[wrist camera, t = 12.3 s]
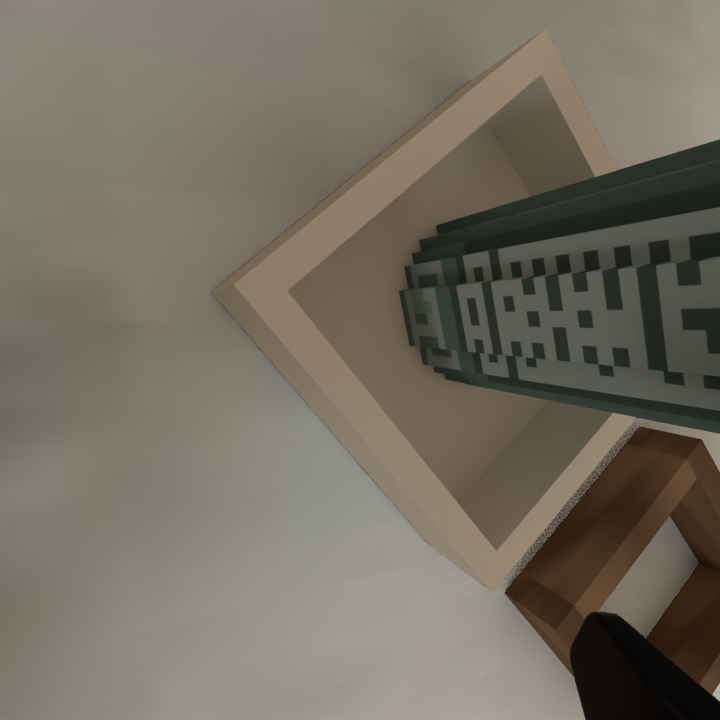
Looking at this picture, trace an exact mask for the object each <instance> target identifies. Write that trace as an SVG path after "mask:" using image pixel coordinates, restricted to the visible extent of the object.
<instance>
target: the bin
mask: <svg viewBox="0 0 720 720" xmlns="http://www.w3.org/2000/svg"><path fill="white" fill-rule="evenodd" d="M614 171H617V169H616V167H615V165H614V163H613V161H612V159H611V157H610V155H609V153H608V151H607V149H606V147H605V145H604V143H603V141H602V139H601V137H600V135H599V133H598V131H597V129H596V127H595V125H594V123H593V121H592V119H591V117H590V115H589V113H588V111H587V109H586V107H585V106H584V104H583V102H582V100H581V98H580V96H579V94H578V92H577V90H576V88H575V86H574V84H573V82H572V80H571V78H570V76H569V74H568V72H567V70H566V68H565V66H564V64H563V62H562V60H561V58H560V56H559V54H558V52H557V50H556V48H555V46H554V44H553V42H552V40H551V38H550V36H549V34H548V32H547V30H546V29H545V30H543V31H542V32H540V33H539V34H537V35H536V36H534V37H533V38H532V39H530V40H529V41H527V42H526V43H524V44H523V45H521V46H520V47H519V48H517V49H516V50H514V51H513V52H511V53H510V54H509V55H507V56H506V57H504V58H503V59H501V60H500V61H498V62H497V63H496V64H494V65H493V66H491V67H490V68H488V69H487V70H485V71H484V72H483V73H481V74H480V75H478V76H477V77H475V78H474V79H472V80H471V81H470V82H469V83H467V84H466V85H465V86H464V87H462V88H461V89H460V90H459V91H458V92H456V93H455V94H454V95H453V96H451V97H450V98H449V99H448V100H446V101H445V102H444V103H443V104H442V105H440V106H439V107H438V108H437V109H435V110H434V111H433V112H432V113H431V114H429V115H428V116H427V117H426V118H424V119H423V120H422V121H421V122H419V123H418V124H417V125H416V126H415V127H413V128H412V129H411V130H410V131H408V132H407V133H406V134H405V135H403V136H402V137H401V138H400V139H399V140H397V141H396V142H395V143H394V144H392V145H391V146H390V147H389V148H388V149H386V150H385V151H384V152H383V153H381V154H380V155H379V156H378V157H376V158H375V159H374V160H373V161H372V162H370V163H369V164H368V165H367V166H365V167H364V168H363V169H362V170H360V171H359V172H358V173H357V174H356V175H354V176H353V177H352V178H351V179H349V180H348V181H347V182H346V183H345V184H343V185H342V186H341V187H340V188H338V189H337V190H336V191H335V192H333V193H332V194H331V195H330V196H329V197H327V198H326V199H325V200H324V201H322V202H321V203H320V204H319V205H317V206H316V207H315V208H314V209H313V210H311V211H310V212H309V213H308V214H306V215H305V216H304V217H303V218H302V219H300V220H299V221H298V222H297V223H295V224H294V225H293V226H292V227H290V228H289V229H288V230H287V231H286V232H284V233H283V234H282V235H281V236H279V237H278V238H277V239H276V240H274V241H273V242H272V243H271V244H270V245H268V246H267V247H266V248H265V249H263V250H262V251H261V252H260V253H259V254H257V255H256V256H255V257H254V258H252V259H251V260H250V261H249V262H247V263H246V264H245V265H244V266H243V267H241V268H240V269H239V270H238V271H236V272H235V273H234V274H233V275H231V276H230V277H229V278H228V279H227V280H225V281H224V282H223V283H222V284H220V285H219V286H218V287H217V288H216V289H214V290H213V291H212V293H213V295H214V296H215V297H216V298H217V299H218V300H219V302H220V303H221V304H222V305H223V306H224V307H225V308H226V310H227V311H228V312H229V313H230V314H231V315H232V317H233V318H234V319H235V320H236V321H237V322H238V324H239V325H240V326H241V327H242V328H243V329H244V331H245V332H246V333H247V334H248V335H249V336H250V337H251V339H252V340H253V341H254V342H255V343H256V344H257V346H258V347H259V348H260V349H261V350H262V351H263V353H264V354H265V355H266V356H267V357H268V358H269V360H270V361H271V362H272V363H273V364H274V365H275V366H276V368H277V369H278V370H279V371H280V372H281V373H282V375H283V376H284V377H285V378H286V379H287V380H288V382H289V383H290V384H291V385H292V386H293V387H294V389H295V390H296V391H297V392H298V393H299V394H300V396H301V397H302V398H303V399H304V400H305V401H306V402H307V404H308V405H309V406H310V407H311V408H312V409H313V411H314V412H315V413H316V414H317V415H318V416H319V418H320V419H321V420H322V421H323V422H324V423H325V425H326V426H327V427H328V428H329V429H330V430H331V431H332V433H333V434H334V435H335V436H336V437H337V438H338V440H339V441H340V442H341V443H342V444H343V445H344V447H345V448H346V449H347V450H348V451H349V452H350V454H351V455H352V456H353V457H354V458H355V459H356V460H357V462H358V463H359V464H360V465H361V466H362V467H363V469H364V470H365V471H366V472H367V473H368V474H369V476H370V477H371V478H372V479H373V480H374V481H375V483H376V484H377V485H378V486H379V487H380V488H381V490H382V491H383V492H384V493H385V494H386V495H387V496H388V498H389V499H390V500H391V501H392V502H393V503H394V505H395V506H396V507H397V508H398V509H399V510H400V512H401V513H402V514H403V515H404V516H405V517H406V519H407V520H408V521H409V522H410V523H411V524H412V525H413V527H414V528H415V529H416V530H417V531H418V532H419V534H420V535H421V536H422V537H423V538H424V539H425V541H426V542H427V543H428V544H429V545H430V546H431V547H432V548H434V549H435V550H436V551H438V552H439V553H440V554H442V555H443V556H444V557H446V558H447V559H448V560H450V561H451V562H452V563H454V564H455V565H456V566H458V567H459V568H460V569H462V570H463V571H464V572H466V573H467V574H468V575H469V576H471V577H472V578H473V579H475V580H476V581H477V582H479V583H480V584H481V585H483V586H484V587H485V588H487V589H488V590H489V591H491V592H492V593H493V592H494V591H495V589H496V588H497V587H498V586H499V584H500V583H501V582H502V581H503V580H504V578H505V577H506V576H507V575H508V574H509V572H510V571H511V570H512V569H513V567H514V566H515V565H516V564H517V563H518V561H519V560H520V559H521V558H522V557H523V555H524V554H525V553H526V552H527V550H528V549H529V548H530V547H531V546H532V544H533V543H534V542H535V541H536V540H537V538H538V537H539V536H540V535H541V533H542V532H543V531H544V530H545V529H546V527H547V526H548V525H549V524H550V523H551V521H552V520H553V519H554V518H555V516H556V515H557V514H558V513H559V512H560V510H561V509H562V508H563V507H564V505H565V504H566V503H567V502H568V501H569V499H570V498H571V497H572V496H573V495H574V493H575V492H576V491H577V490H578V488H579V487H580V486H581V485H582V484H583V482H584V481H585V480H586V479H587V478H588V476H589V475H590V474H591V473H592V471H593V470H594V469H595V468H596V467H597V465H598V464H599V463H600V462H601V461H602V459H603V458H604V457H605V456H606V454H607V453H608V452H609V451H610V450H611V448H612V447H613V446H614V445H615V443H616V442H617V441H618V440H619V439H620V437H621V436H622V435H623V434H624V433H625V431H626V430H627V429H628V428H629V426H630V425H631V424H632V423H633V422H634V420H635V419H636V418H637V417H632V416H627V415H622V414H617V413H612V412H607V411H602V410H596V409H591V408H586V407H581V406H576V405H571V404H566V403H560V402H555V401H550V400H545V399H540V398H535V397H530V396H525V395H519V394H514V393H509V392H504V391H499V390H494V389H489V388H483V387H478V386H473V385H468V384H465V383H461V382H456V381H451V380H446V379H445V375H444V374H443V373H437V372H434V367H433V366H430V365H424V364H423V361H422V356H421V351H420V347H415V346H410V345H409V340H408V335H407V330H406V325H405V320H404V315H403V310H402V305H401V300H400V295H399V291H402V290H406V289H408V284H407V279H406V274H405V269H404V267H405V266H410V265H414V263H413V258H412V253H416V252H420V251H421V248H420V243H419V240H422V239H425V238H429V237H433V236H437V229H436V225H439V224H442V223H445V222H448V221H452V220H455V219H458V218H462V217H465V216H468V215H472V214H475V213H478V212H482V211H485V210H488V209H491V208H495V207H498V206H501V205H505V204H508V203H511V202H515V201H518V200H521V199H525V198H528V197H531V196H534V195H538V194H541V193H544V192H548V191H551V190H554V189H558V188H561V187H564V186H567V185H571V184H574V183H577V182H581V181H584V180H587V179H591V178H594V177H597V176H601V175H604V174H607V173H610V172H614Z"/></svg>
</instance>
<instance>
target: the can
mask: <svg viewBox="0 0 720 720" xmlns="http://www.w3.org/2000/svg"><path fill="white" fill-rule="evenodd" d="M436 229H437V236H433V237H429V238H425V239H422V240H419V243H420V248H421V251H420V252H416V253H412V258H413V263H414V265H410V266H405V267H404V269H405V274H406V279H407V284H408V289H406V290H402V291H399V295H400V300H401V305H402V310H403V315H404V320H405V325H406V330H407V335H408V340H409V345H410V346H415V347H420V351H421V356H422V361H423V364H424V365H430V366H433V367H434V372H437V373H443V374H444V375H445V379H446V380H451V381H456V382H461V383H465V384H468V385H473V386H478V387H483V388H489V389H494V390H499V391H504V392H509V393H514V394H519V395H525V396H530V397H535V398H540V399H545V400H550V401H555V402H560V403H566V404H571V405H576V406H581V407H586V408H591V409H596V410H602V411H607V412H612V413H617V414H622V415H627V416H632V417H637V418H643V419H648V420H653V421H658V422H663V423H668V424H673V425H678V426H684V427H689V428H694V429H699V430H704V431H709V432H714V433H720V140H716V141H713V142H710V143H706V144H703V145H700V146H696V147H693V148H690V149H687V150H683V151H680V152H677V153H673V154H670V155H667V156H663V157H660V158H657V159H653V160H650V161H647V162H644V163H640V164H637V165H634V166H630V167H627V168H624V169H620V170H617V171H614V172H610V173H607V174H604V175H601V176H597V177H594V178H591V179H587V180H584V181H581V182H577V183H574V184H571V185H567V186H564V187H561V188H558V189H554V190H551V191H548V192H544V193H541V194H538V195H534V196H531V197H528V198H525V199H521V200H518V201H515V202H511V203H508V204H505V205H501V206H498V207H495V208H491V209H488V210H485V211H482V212H478V213H475V214H472V215H468V216H465V217H462V218H458V219H455V220H452V221H448V222H445V223H442V224H439V225H436Z"/></svg>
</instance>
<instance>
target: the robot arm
mask: <svg viewBox="0 0 720 720" xmlns="http://www.w3.org/2000/svg"><path fill="white" fill-rule="evenodd" d="M570 663H571V667H572V671H573V675H574V678H575V682H576V686H577V690H578V693H579V697H580V701H581V705H582V708H583V712H584V716H585V719H586V720H720V701H719V700H717V699H716V698H715V697H714V696H713V695H711V694H710V693H709V692H708V691H707V690H706V689H704V688H703V687H702V686H701V685H700V684H699V683H697V682H696V681H695V680H694V679H693V678H692V677H690V676H689V675H688V674H687V673H686V672H685V671H683V670H682V669H681V668H680V667H679V666H678V665H676V664H675V663H674V662H673V661H672V660H671V659H669V658H668V657H667V656H666V655H665V654H664V653H662V652H661V651H660V650H659V649H658V648H656V647H655V646H654V645H653V644H652V643H651V642H649V641H648V640H647V639H646V638H645V637H644V636H642V635H641V634H640V633H639V632H638V631H637V630H635V629H634V628H633V627H632V626H631V625H630V624H628V623H627V622H626V621H625V620H624V619H623V618H621V617H620V616H618V615H617V614H614V613H606V612H591V613H589V614H588V615H587V616H586V617H585V619H584V621H583V623H582V625H581V627H580V629H579V631H578V633H577V635H576V637H575V639H574V641H573V642H572V645H571V648H570Z"/></svg>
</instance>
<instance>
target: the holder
mask: <svg viewBox="0 0 720 720" xmlns="http://www.w3.org/2000/svg"><path fill="white" fill-rule="evenodd" d="M669 515H670V516H671V517H672V519H673V521H674V522H675V524H676V525H677V527H678V529H679V530H680V532H681V534H682V535H683V537H684V538H685V540H686V542H687V543H688V545H689V547H690V548H691V550H692V551H693V553H694V555H695V556H696V558H697V559H698V561H699V563H700V564H699V566H698V567H697V569H696V570H695V572H694V573H693V574H692V576H691V577H690V579H689V580H688V581H687V583H686V584H685V586H684V587H683V589H682V590H681V591H680V593H679V594H678V596H677V597H676V598H675V600H674V601H673V603H672V604H671V606H670V607H669V608H668V610H667V611H666V613H665V614H664V615H663V617H662V618H661V620H660V621H659V622H658V624H657V625H656V627H655V628H654V630H653V631H652V632H651V634H650V635H649V637H648V638H647V640H648V641H649V642H651V643H652V644H653V645H654V646H655V647H656V648H658V649H659V650H660V651H661V652H662V653H664V654H665V655H666V656H667V657H668V658H669V659H671V660H672V661H673V662H674V663H675V664H676V665H678V666H679V667H680V668H681V669H682V670H683V671H685V672H686V673H687V674H688V675H689V676H690V677H692V678H693V679H694V680H695V681H696V682H697V683H699V684H700V685H701V686H702V687H703V688H704V689H706V690H707V691H708V692H709V693H710V694H711V695H712V694H713V692H714V691H715V689H716V688H717V686H718V685H719V683H720V472H719V470H718V468H717V467H716V465H715V463H714V461H713V459H712V458H711V456H710V454H709V452H708V450H707V448H706V447H705V445H704V443H703V441H702V440H701V439H697V438H692V437H687V436H682V435H678V434H673V433H668V432H663V431H659V430H654V429H649V428H644V427H640V428H639V429H638V430H637V431H636V433H635V434H634V435H633V436H632V438H631V439H630V440H629V441H628V442H627V444H626V445H625V446H624V447H623V449H622V450H621V451H620V452H619V454H618V455H617V456H616V457H615V458H614V460H613V461H612V462H611V463H610V465H609V466H608V467H607V468H606V469H605V471H604V472H603V473H602V474H601V476H600V477H599V478H598V479H597V481H596V482H595V483H594V484H593V485H592V487H591V488H590V489H589V490H588V492H587V493H586V494H585V495H584V496H583V498H582V499H581V500H580V501H579V503H578V504H577V505H576V506H575V507H574V509H573V510H572V511H571V512H570V514H569V515H568V516H567V517H566V519H565V520H564V521H563V522H562V523H561V525H560V526H559V527H558V528H557V530H556V531H555V532H554V533H553V534H552V536H551V537H550V538H549V539H548V541H547V542H546V543H545V544H544V546H543V547H542V548H541V549H540V550H539V552H538V553H537V554H536V555H535V557H534V558H533V559H532V560H531V561H530V563H529V564H528V565H527V566H526V568H525V569H524V570H523V571H522V573H521V574H520V575H519V576H518V577H517V579H516V580H515V581H514V582H513V584H512V585H511V586H510V587H509V588H508V590H507V591H506V592H505V594H506V595H507V596H508V598H509V599H510V600H511V601H512V602H513V604H514V605H515V606H516V607H517V608H518V610H519V611H520V612H521V613H522V614H523V616H524V617H525V618H526V619H527V620H528V622H529V623H530V624H531V625H532V627H533V628H534V629H535V630H536V631H537V633H538V634H539V635H540V636H541V637H542V639H543V640H544V641H545V642H546V643H547V645H548V646H549V647H550V648H551V649H552V651H553V652H554V653H555V654H556V655H557V657H558V658H559V659H560V660H561V662H562V663H563V664H564V665H565V666H566V668H567V669H568V670H569V671H570V672H571V674H572V675H573V671H572V667H571V663H570V648H571V645H572V642H573V641H574V639H575V637H576V635H577V633H578V631H579V629H580V627H581V625H582V623H583V621H584V619H585V617H586V616H587V615H588V614H589V613H591V612H598V610H599V609H600V608H601V606H602V605H603V604H604V602H605V601H606V600H607V598H608V597H609V596H610V594H611V593H612V592H613V590H614V589H615V588H616V586H617V585H618V584H619V582H620V581H621V580H622V578H623V577H624V576H625V574H626V573H627V571H628V570H629V569H630V567H631V566H632V565H633V563H634V562H635V561H636V559H637V558H638V557H639V555H640V554H641V553H642V551H643V550H644V549H645V547H646V546H647V545H648V543H649V542H650V541H651V539H652V538H653V537H654V535H655V534H656V533H657V531H658V530H659V529H660V527H661V526H662V525H663V523H664V522H665V521H666V519H667V518H668V517H669ZM573 676H574V675H573Z"/></svg>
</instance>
